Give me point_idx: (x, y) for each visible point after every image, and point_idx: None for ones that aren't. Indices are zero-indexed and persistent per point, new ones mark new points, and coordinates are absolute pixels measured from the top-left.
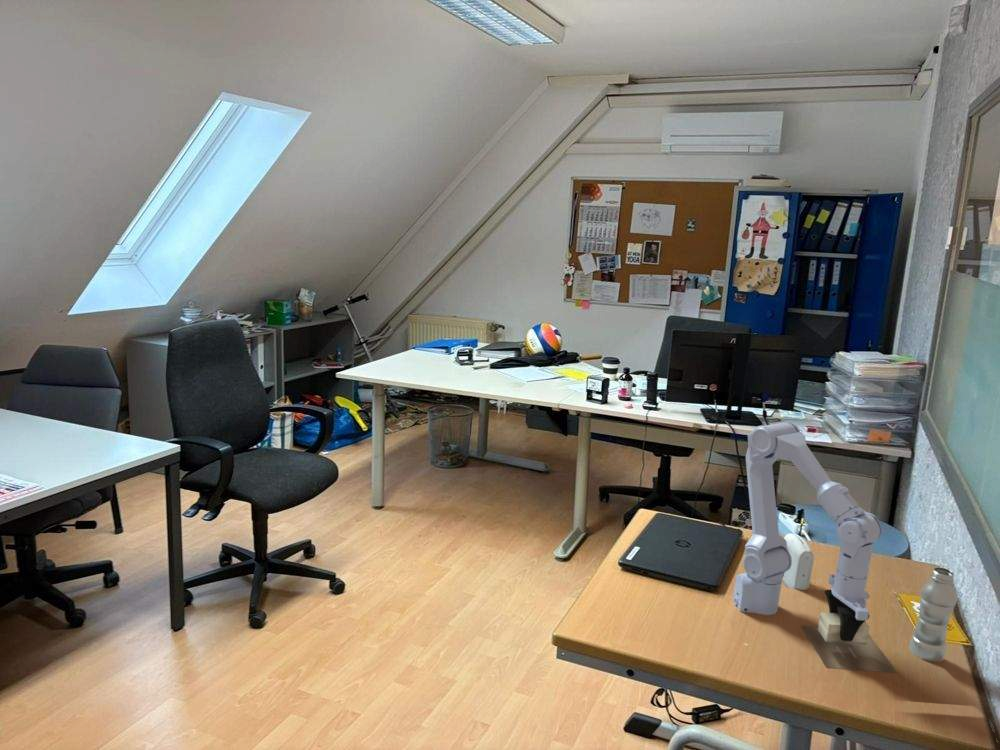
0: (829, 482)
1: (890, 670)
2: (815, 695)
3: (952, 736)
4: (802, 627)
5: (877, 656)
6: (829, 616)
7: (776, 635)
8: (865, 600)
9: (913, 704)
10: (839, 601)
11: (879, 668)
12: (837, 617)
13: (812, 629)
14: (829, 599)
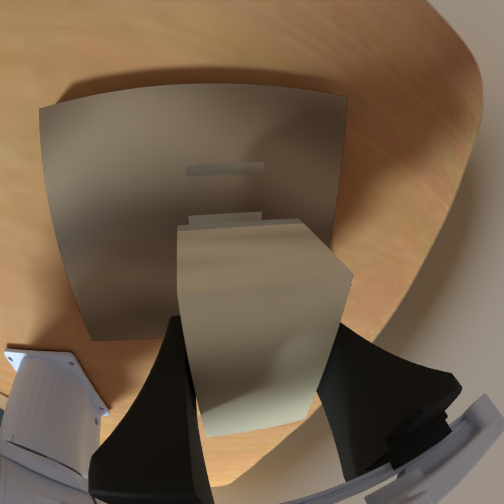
0: None
1: (334, 116)
2: (365, 329)
3: (477, 115)
4: (102, 338)
5: (244, 120)
6: (239, 421)
7: (142, 373)
8: (456, 483)
9: (420, 124)
10: (202, 468)
11: (325, 154)
12: (243, 402)
13: (99, 314)
14: (210, 489)
